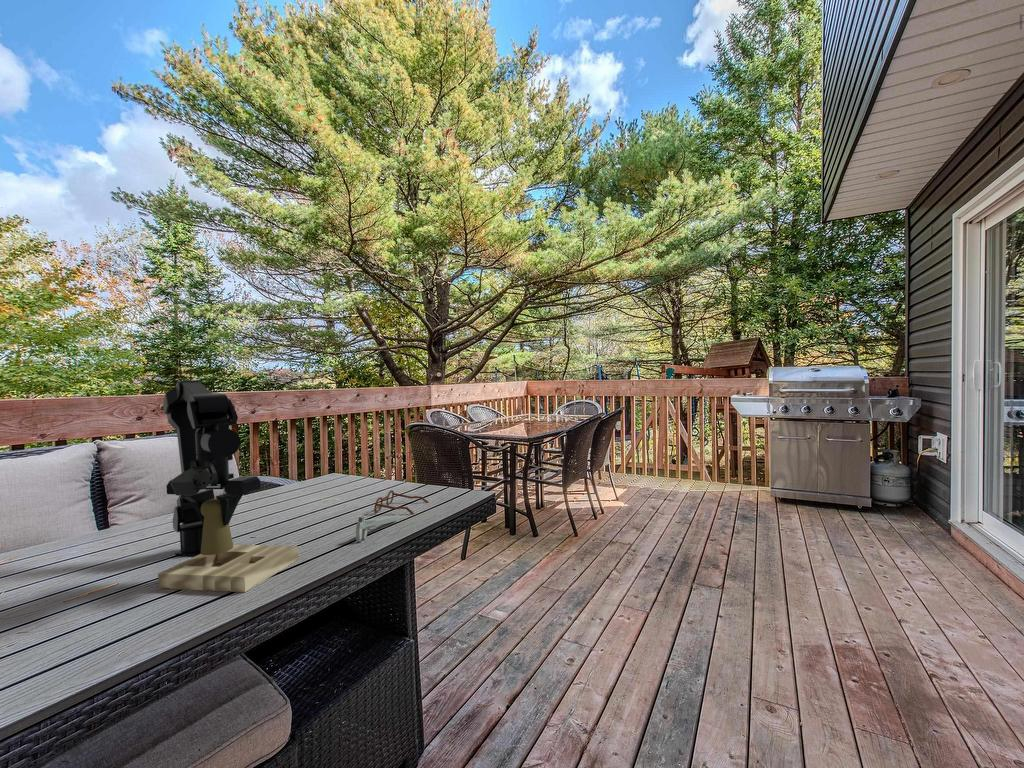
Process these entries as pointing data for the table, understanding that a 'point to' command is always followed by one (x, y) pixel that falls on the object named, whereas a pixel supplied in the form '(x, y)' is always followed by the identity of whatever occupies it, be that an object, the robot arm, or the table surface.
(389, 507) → the glasses
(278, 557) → the block
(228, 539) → the olive knobbed peg
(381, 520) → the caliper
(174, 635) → the table surface
